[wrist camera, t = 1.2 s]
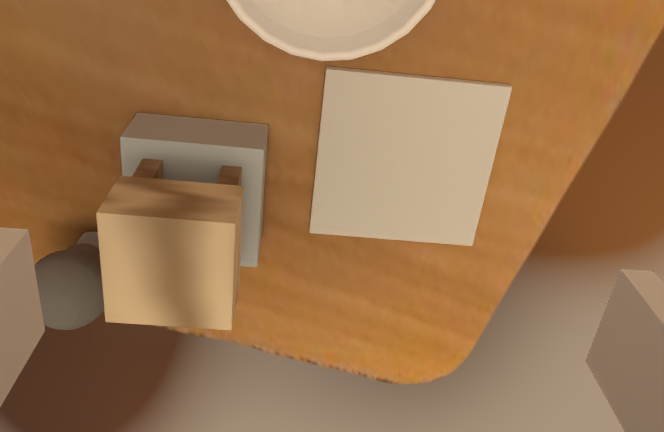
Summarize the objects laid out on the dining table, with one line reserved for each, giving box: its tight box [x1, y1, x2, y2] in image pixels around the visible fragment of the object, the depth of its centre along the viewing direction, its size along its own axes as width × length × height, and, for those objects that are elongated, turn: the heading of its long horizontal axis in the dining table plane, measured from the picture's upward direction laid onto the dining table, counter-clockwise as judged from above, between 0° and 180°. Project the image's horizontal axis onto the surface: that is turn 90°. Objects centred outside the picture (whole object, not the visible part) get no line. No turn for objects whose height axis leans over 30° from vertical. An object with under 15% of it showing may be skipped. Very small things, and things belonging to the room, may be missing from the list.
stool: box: [96, 159, 244, 330], centre depth 42 cm, size 8×8×9 cm
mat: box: [309, 66, 512, 246], centre depth 50 cm, size 14×14×1 cm
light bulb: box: [34, 231, 104, 330], centre depth 49 cm, size 6×6×10 cm
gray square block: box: [120, 113, 268, 267], centre depth 48 cm, size 10×10×5 cm
